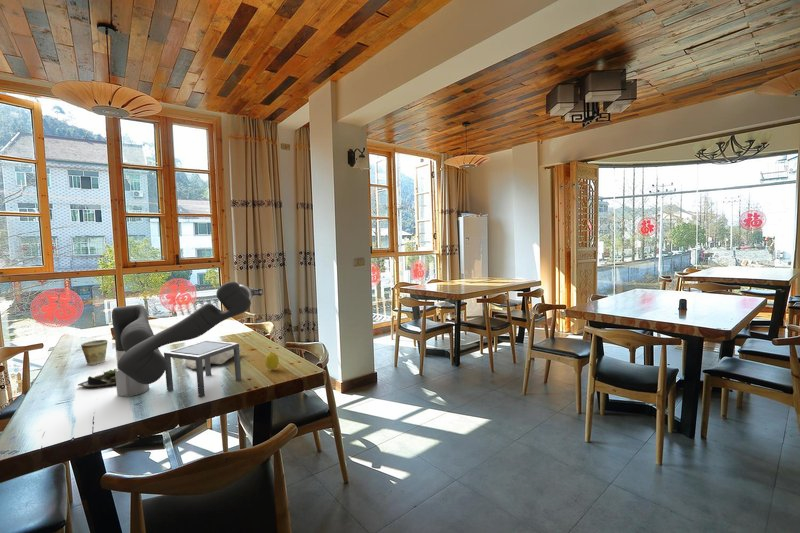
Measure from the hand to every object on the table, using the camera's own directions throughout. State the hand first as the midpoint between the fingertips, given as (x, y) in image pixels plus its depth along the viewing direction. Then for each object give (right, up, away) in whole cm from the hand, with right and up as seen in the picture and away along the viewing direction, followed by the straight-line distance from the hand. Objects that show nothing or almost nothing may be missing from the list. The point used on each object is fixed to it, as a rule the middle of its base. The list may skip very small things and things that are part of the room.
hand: (244, 293), depth 149 cm
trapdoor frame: (-16, -36, +1) cm, 40 cm away
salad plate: (-60, -38, +10) cm, 72 cm away
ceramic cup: (-88, -37, +38) cm, 103 cm away
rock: (-26, -35, +31) cm, 53 cm away
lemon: (+6, -35, +16) cm, 38 cm away
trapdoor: (-17, -22, 0) cm, 28 cm away
